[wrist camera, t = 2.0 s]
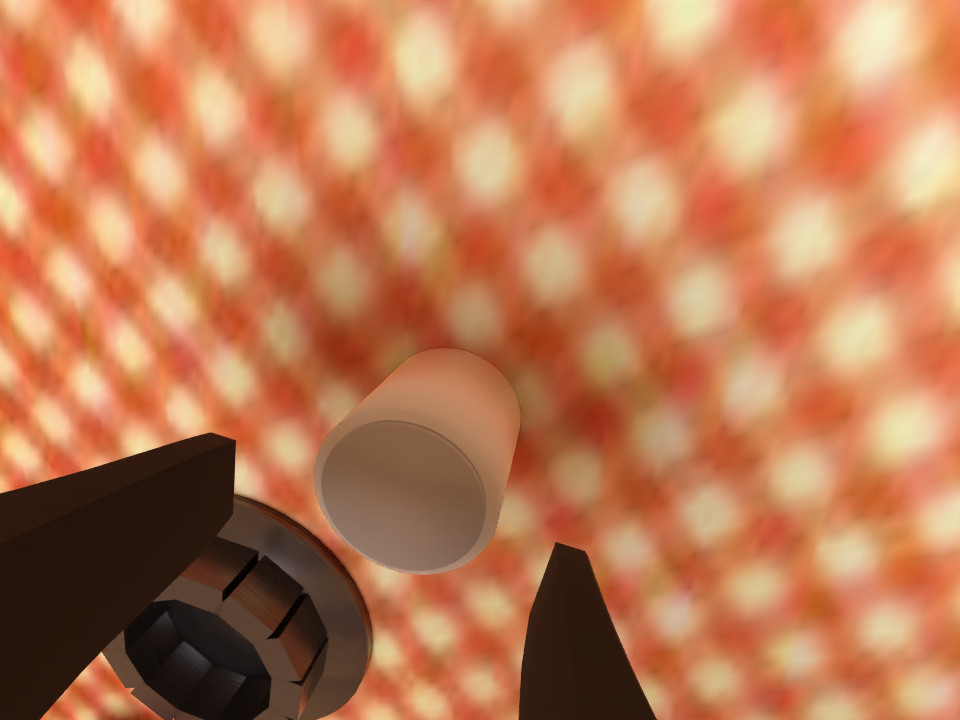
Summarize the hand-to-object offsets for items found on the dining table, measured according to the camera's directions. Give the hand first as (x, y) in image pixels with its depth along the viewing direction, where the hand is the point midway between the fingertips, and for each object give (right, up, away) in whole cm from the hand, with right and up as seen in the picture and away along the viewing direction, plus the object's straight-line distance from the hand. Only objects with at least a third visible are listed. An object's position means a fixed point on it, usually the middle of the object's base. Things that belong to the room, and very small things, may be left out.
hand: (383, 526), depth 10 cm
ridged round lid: (-8, -7, +10) cm, 15 cm away
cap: (+1, +2, +5) cm, 6 cm away
